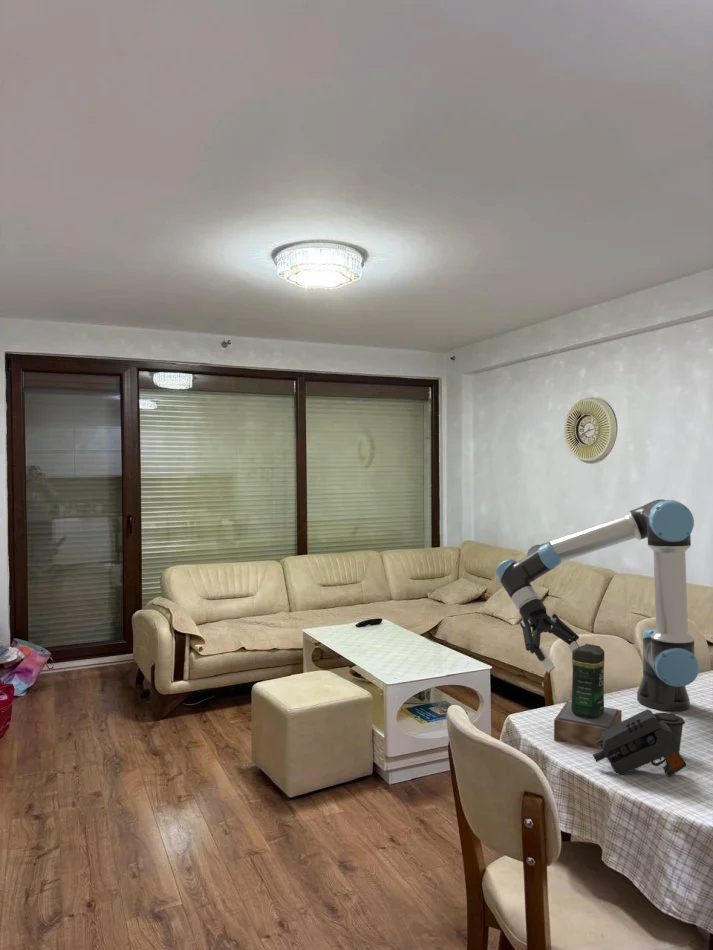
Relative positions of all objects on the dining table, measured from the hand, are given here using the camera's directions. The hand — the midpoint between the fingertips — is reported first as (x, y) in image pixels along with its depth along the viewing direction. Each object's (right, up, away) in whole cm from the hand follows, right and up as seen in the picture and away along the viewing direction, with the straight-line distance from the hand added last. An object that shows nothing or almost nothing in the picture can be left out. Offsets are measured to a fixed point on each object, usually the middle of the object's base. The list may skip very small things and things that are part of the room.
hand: (568, 666), depth 188 cm
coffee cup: (+20, -17, -18) cm, 32 cm away
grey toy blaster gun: (+8, -17, -29) cm, 34 cm away
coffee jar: (+4, -11, -6) cm, 13 cm away
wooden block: (+4, -17, -6) cm, 19 cm away
